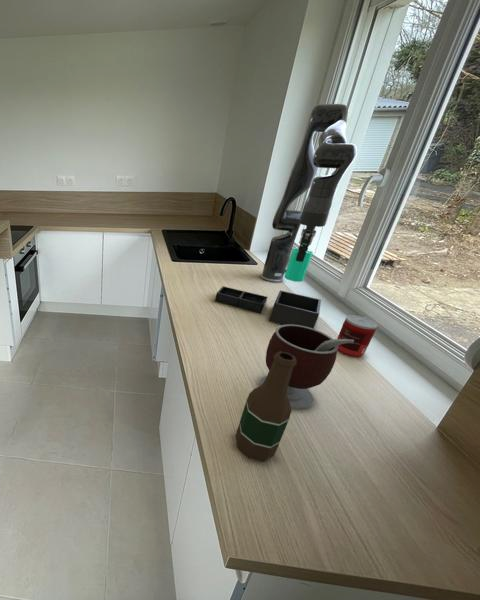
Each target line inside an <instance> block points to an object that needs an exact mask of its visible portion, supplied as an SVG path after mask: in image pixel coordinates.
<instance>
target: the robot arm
mask: <svg viewBox="0 0 480 600" xmlns="http://www.w3.org/2000/svg"><path fill="white" fill-rule="evenodd" d="M348 115H349V109H348V105H346V104H343V103H317V104H316V105H314V107H313V108H312V110H311V112H310V114H309V116H308V120H307V123H306V127H305V130H304V133H303V137H302V140H301V143H300V146H299V149H298V153H297V155H296V158H295V161H294V163H293V166H292V168H291V170H290V174H289V176H288V179H287V183H286V186H285V189H284V193H283V195H282V197H281V200H280V203H279V205H278V207H277V209H276V211H275V214H274V217H273V219H272V225H271V226H272V229H273V230H277V231H285V232H286V233H284V234H281V235H277V236H273V237H271V239H270V243H269V246H268V250H267V255H266V258H265V261H264V265H263V268H262V272H261V275H260V278H261V279H263V280H264V281H268V282H272V283H280V282H283V279H284V276H285V273H286V270H287V266H288V263H289V260H290V257H291V254H292V251H293V247H294V244H295V241H296V239H297V236H298V233H299V230H300V228H301V225H302V226H306V228H302V230H301V234H300V239H299V242H298V243H299V246H298V248H297V249H298V250H299V251H298V254H297V257H296V261H300V262H303V260H304V257H305V254H306V251H309V247H310V246H311V245H312V243H313V241H314V238H315V237H316V233H317V229H316V227H317V228H323V227H325V226H326V224H327V221H328V218H329V215H330V213H331V210H332V207H333V204H334V199H335V196H336V193H337V190H338V188H339V185H340V183H341V180H342V179H343V177H344V175H345V174H346V172H347V171H348V169H349V168H350V166H351V165H352V164H353V162H354V161H355V159H356V157H357V155H358V147H357V146H356V144H354V143H347V137H346V127H347V121H348ZM316 133H320V135H319V137H318V143H317V144H318V147H317V148H316V150H315V145H314V136H315V134H316ZM320 169H334V171H333V172H332V173H330V174H326V175H319V176H318V174H319V171H320ZM308 190H309V191H308ZM307 191H308V194H307V197H306V199H305V202H304V204H303V207H302V210H295V209H289V207H290V206H291V205H292V204H293V203H294V202H295V201H296V200H298V198H299V197H301V196H302V195H303V194H304V193H306V192H307Z"/></svg>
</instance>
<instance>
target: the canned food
mask: <svg viewBox="0 0 480 600" xmlns="http://www.w3.org/2000/svg"><path fill="white" fill-rule="evenodd" d="M378 327H379V325H378V323H377V322H376V321H374V320H372V319H370V318H368V317H365V316H361V315H357V314H356V315H355V314H350V315H347V316H346V317H345V319H344V321H343V324H342V326H341V328H340V331H339V333H338V335H337V337H336V339H349V340H354V343H345V344H341V345H338V349H337V352H338V353H340V354H342V355H345V356H347V357H351V358H361V357H363V356H364V355H365V353H366V351H367V349H368V348H369V345H370V343H371V341H372V339H373V337H374V335H375V333H376V330H377V329H378Z"/></svg>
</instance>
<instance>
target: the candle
mask: <svg viewBox="0 0 480 600" xmlns="http://www.w3.org/2000/svg"><path fill="white" fill-rule="evenodd" d="M298 251H299V250H298V248H296V247H295V248H292V251H291V254H290V257H289V260H288V263H287V267H286V269H287V270H286V272H285V273H284V276H283V278H284V279H286V280H288V281H290V282H296V283H297V282H298V283H299V282H303V281H304V279H305V277H306V274H307V271H308V268H309V265H310V262H311V258H312V257H313V253H314V252H313V250H312V251H310V250H308V251H306V254H305V257H304V260H303V262H300V261H296V257H297V254H298Z"/></svg>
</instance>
